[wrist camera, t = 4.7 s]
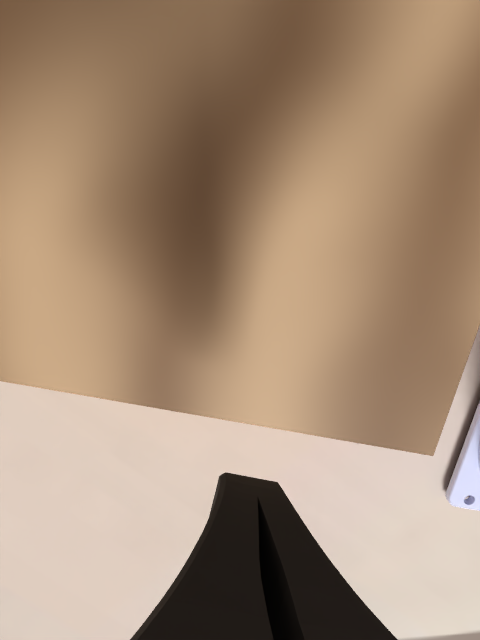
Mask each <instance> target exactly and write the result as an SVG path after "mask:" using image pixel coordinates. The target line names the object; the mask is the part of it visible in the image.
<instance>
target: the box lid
mask: <svg viewBox="0 0 480 640" xmlns="http://www.w3.org/2000/svg"><path fill="white" fill-rule="evenodd" d="M479 325H480V0H0V381H3V382H9V383H15V384H21V385H26V386H32V387H38V388H44V389H49V390H55V391H61V392H67V393H72V394H78V395H84V396H90V397H96V398H101V399H107V400H113V401H119V402H124V403H130V404H136V405H142V406H147V407H153V408H159V409H165V410H171V411H176V412H182V413H188V414H194V415H199V416H205V417H211V418H217V419H222V420H228V421H234V422H240V423H246V424H251V425H257V426H263V427H269V428H274V429H280V430H286V431H292V432H297V433H303V434H309V435H315V436H321V437H326V438H332V439H338V440H344V441H349V442H355V443H361V444H367V445H372V446H378V447H384V448H390V449H395V450H401V451H407V452H413V453H419V454H424V455H430V456H433V455H434V452H435V449H436V447H437V444H438V441H439V438H440V435H441V432H442V430H443V427H444V424H445V421H446V418H447V416H448V413H449V410H450V407H451V404H452V401H453V399H454V396H455V393H456V390H457V387H458V385H459V382H460V379H461V376H462V373H463V370H464V368H465V365H466V362H467V359H468V356H469V354H470V351H471V348H472V345H473V342H474V339H475V337H476V334H477V331H478V328H479Z"/></svg>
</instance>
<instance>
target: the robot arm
mask: <svg viewBox="0 0 480 640" xmlns="http://www.w3.org/2000/svg"><path fill="white" fill-rule="evenodd" d="M468 495H470V497H469V498H468V499H465V497H467V496H468ZM446 499H447V500H448V501H449V503H450V504H451V505H452V506H455V507H460V508H466V509H473V510H479V511H480V401H479V404H478V407H477V410H476V412H475V415H474V418H473V420H472V423H471V426H470V429H469V431H468V434H467V437H466V439H465V442H464V445H463V448H462V450H461V453H460V456H459V458H458V461H457V464H456V467H455V469H454V472H453V475H452V477H451V480H450V483H449V486H448V488H447V491H446ZM130 640H397V639H396V638H395V637H394V636H393V634H392V633H391V632H390V631H389V630H388V629H387V628H386V627H385V626H384V625H383V624H382V622H381V621H380V620H379V619H378V618H377V617H376V616H375V615H374V614H373V613H372V611H371V610H370V609H369V608H368V607H367V606H366V605H365V604H364V602H363V601H362V600H361V599H360V598H359V596H358V595H357V594H356V593H355V592H354V591H353V589H352V588H351V587H350V585H349V584H348V583H347V582H346V580H345V579H344V578H343V577H342V575H341V574H340V573H339V571H338V570H337V569H336V568H335V566H334V565H333V564H332V562H331V561H330V560H329V558H328V557H327V556H326V554H325V553H324V552H323V550H322V549H321V547H320V546H319V545H318V543H317V542H316V540H315V539H314V537H313V536H312V534H311V533H310V531H309V530H308V528H307V527H306V526H305V524H304V523H303V521H302V519H301V518H300V516H299V515H298V513H297V512H296V510H295V509H294V507H293V505H292V504H291V502H290V501H289V499H288V498H287V496H286V494H285V493H284V491H283V490H282V488H281V487H280V485H279V484H278V482H273V481H268V480H263V479H257V478H252V477H247V476H241V475H236V474H231V473H224V474H222V475H220V476H219V480H218V484H217V488H216V492H215V496H214V500H213V504H212V508H211V512H210V516H209V519H208V521H207V524H206V526H205V528H204V530H203V532H202V534H201V536H200V538H199V540H198V542H197V544H196V545H195V547H194V549H193V551H192V553H191V555H190V556H189V558H188V560H187V562H186V563H185V565H184V566H183V568H182V570H181V571H180V573H179V574H178V576H177V578H176V579H175V581H174V582H173V584H172V585H171V587H170V588H169V589H168V591H167V592H166V594H165V595H164V597H163V598H162V599H161V601H160V602H159V603H158V605H157V606H156V607H155V609H154V610H153V611H152V613H151V614H150V615H149V617H148V618H147V619H146V621H145V622H144V623H143V625H142V626H141V627H140V628H139V630H138V631H137V632H136V633H135V635H134V636H133V637H132V638H131V639H130Z"/></svg>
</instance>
